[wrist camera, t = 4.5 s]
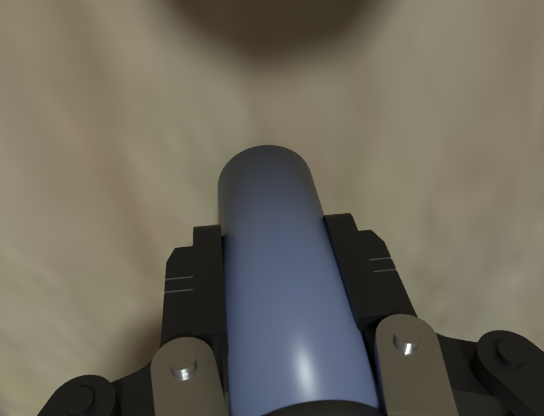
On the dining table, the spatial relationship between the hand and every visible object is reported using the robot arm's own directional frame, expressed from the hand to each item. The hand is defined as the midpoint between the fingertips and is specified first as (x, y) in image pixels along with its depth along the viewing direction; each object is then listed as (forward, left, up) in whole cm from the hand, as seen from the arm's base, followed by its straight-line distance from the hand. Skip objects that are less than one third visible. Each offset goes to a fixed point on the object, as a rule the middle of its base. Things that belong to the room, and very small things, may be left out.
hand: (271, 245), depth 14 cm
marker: (0, 0, -3) cm, 3 cm away
